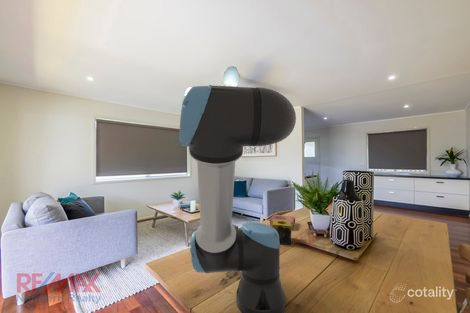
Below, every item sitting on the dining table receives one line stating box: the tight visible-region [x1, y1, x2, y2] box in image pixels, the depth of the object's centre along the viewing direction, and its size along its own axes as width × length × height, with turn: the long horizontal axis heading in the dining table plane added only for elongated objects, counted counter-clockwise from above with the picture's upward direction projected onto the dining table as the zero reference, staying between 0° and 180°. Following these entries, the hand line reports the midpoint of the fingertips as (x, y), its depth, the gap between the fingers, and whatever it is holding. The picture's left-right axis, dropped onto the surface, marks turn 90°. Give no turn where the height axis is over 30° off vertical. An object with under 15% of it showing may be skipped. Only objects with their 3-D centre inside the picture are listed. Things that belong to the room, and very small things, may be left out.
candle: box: [272, 219, 292, 246], centre depth 111 cm, size 10×10×10 cm
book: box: [268, 214, 296, 231], centre depth 136 cm, size 14×15×5 cm
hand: (216, 208), depth 89 cm, fingers closed
